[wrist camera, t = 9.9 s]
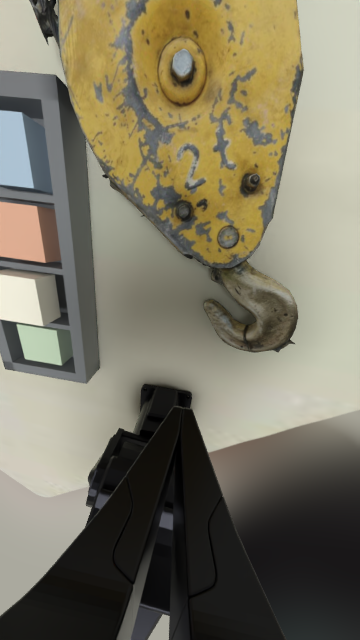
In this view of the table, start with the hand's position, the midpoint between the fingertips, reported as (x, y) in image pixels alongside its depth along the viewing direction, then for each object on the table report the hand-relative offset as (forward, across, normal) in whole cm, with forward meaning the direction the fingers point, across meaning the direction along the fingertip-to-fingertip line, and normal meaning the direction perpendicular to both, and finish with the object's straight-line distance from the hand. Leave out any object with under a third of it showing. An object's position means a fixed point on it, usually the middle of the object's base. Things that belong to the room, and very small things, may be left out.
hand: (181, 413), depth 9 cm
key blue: (+12, +16, -11) cm, 23 cm away
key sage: (+12, +16, +5) cm, 21 cm away
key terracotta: (+13, +16, -6) cm, 21 cm away
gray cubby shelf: (+13, +16, -3) cm, 21 cm away
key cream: (+11, +16, 0) cm, 19 cm away
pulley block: (+14, +1, -10) cm, 17 cm away
